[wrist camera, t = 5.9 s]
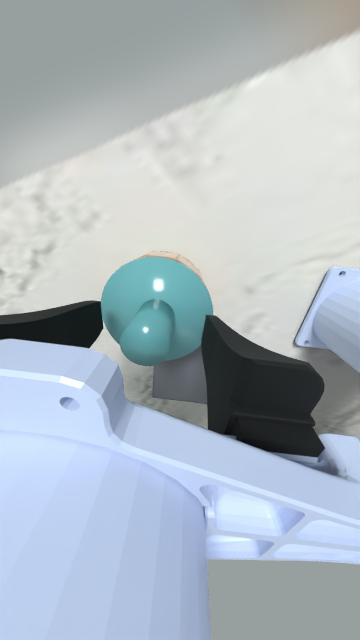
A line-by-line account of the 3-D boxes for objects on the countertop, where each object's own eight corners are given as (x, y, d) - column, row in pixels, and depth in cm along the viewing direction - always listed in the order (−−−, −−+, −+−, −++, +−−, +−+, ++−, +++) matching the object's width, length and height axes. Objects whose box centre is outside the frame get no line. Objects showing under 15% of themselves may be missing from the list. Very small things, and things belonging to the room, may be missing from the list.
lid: (224, 268, 12) (243, 286, 8) (199, 362, 16) (202, 408, 12) (103, 246, 12) (56, 252, 8) (106, 346, 16) (76, 388, 12)
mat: (237, 347, 19) (238, 349, 19) (220, 402, 23) (220, 405, 23) (156, 337, 19) (155, 339, 19) (153, 394, 23) (152, 397, 23)
